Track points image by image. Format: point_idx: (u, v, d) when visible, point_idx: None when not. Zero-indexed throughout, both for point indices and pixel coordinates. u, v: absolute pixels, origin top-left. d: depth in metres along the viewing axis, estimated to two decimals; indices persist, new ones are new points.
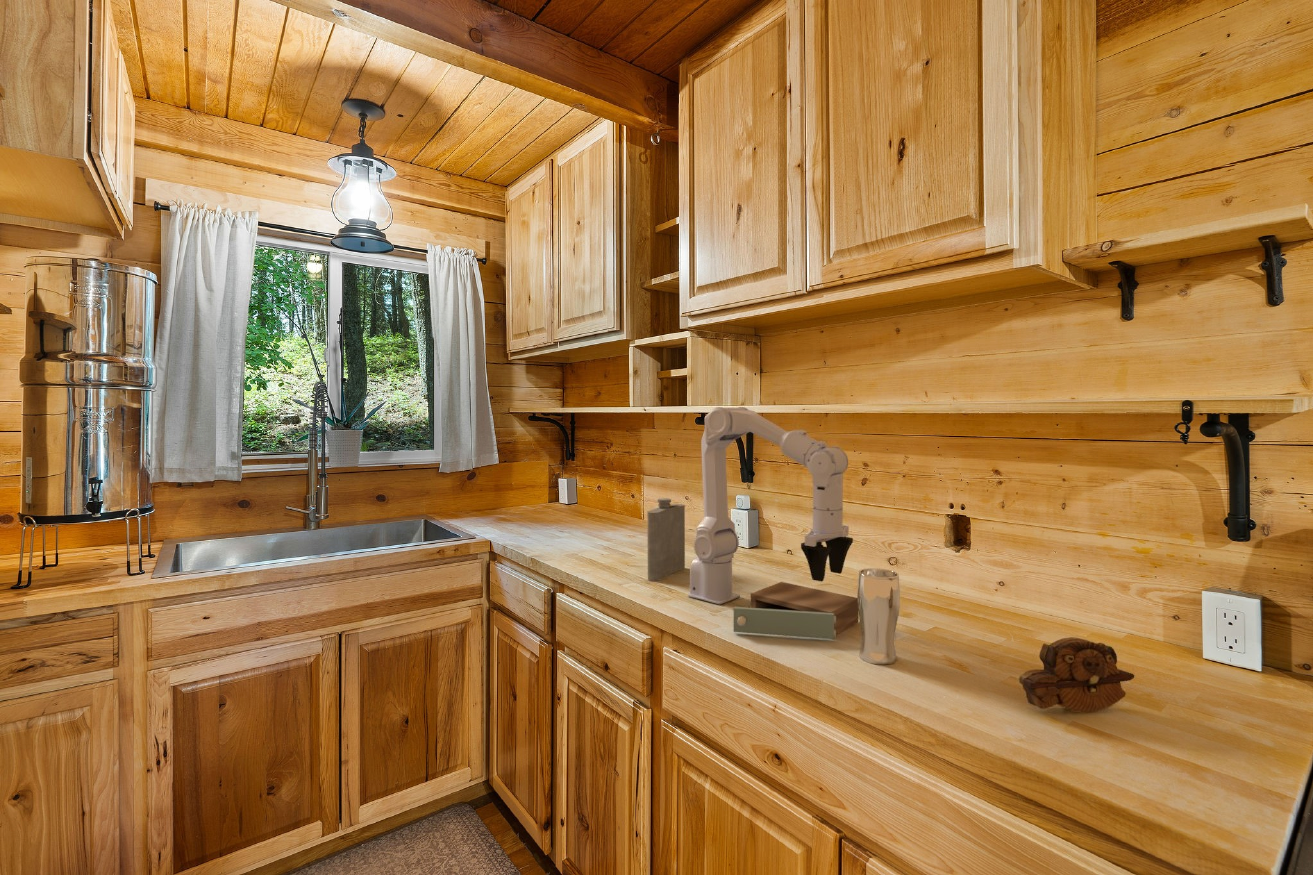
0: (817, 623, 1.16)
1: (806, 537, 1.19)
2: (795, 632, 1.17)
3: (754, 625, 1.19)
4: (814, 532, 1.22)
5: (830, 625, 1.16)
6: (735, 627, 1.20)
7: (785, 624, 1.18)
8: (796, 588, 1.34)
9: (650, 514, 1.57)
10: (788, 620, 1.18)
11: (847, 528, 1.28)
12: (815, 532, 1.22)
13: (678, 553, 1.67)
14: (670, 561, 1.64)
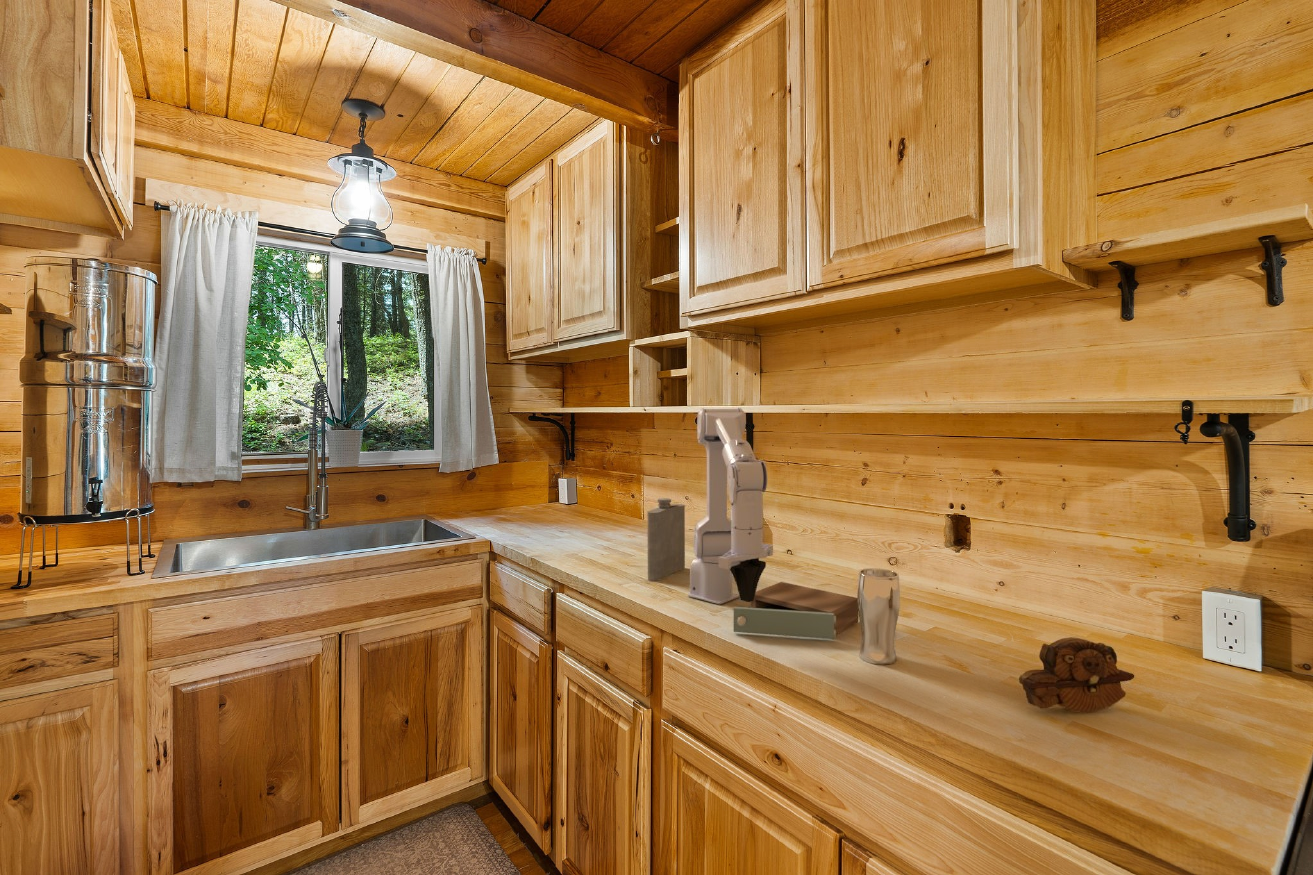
0: (817, 623, 1.16)
1: (720, 559, 1.09)
2: (795, 632, 1.17)
3: (754, 625, 1.19)
4: (732, 553, 1.13)
5: (830, 625, 1.16)
6: (735, 627, 1.20)
7: (785, 624, 1.18)
8: (796, 588, 1.34)
9: (650, 514, 1.57)
10: (788, 620, 1.18)
11: (771, 548, 1.18)
12: (733, 553, 1.13)
13: (678, 553, 1.67)
14: (670, 561, 1.64)
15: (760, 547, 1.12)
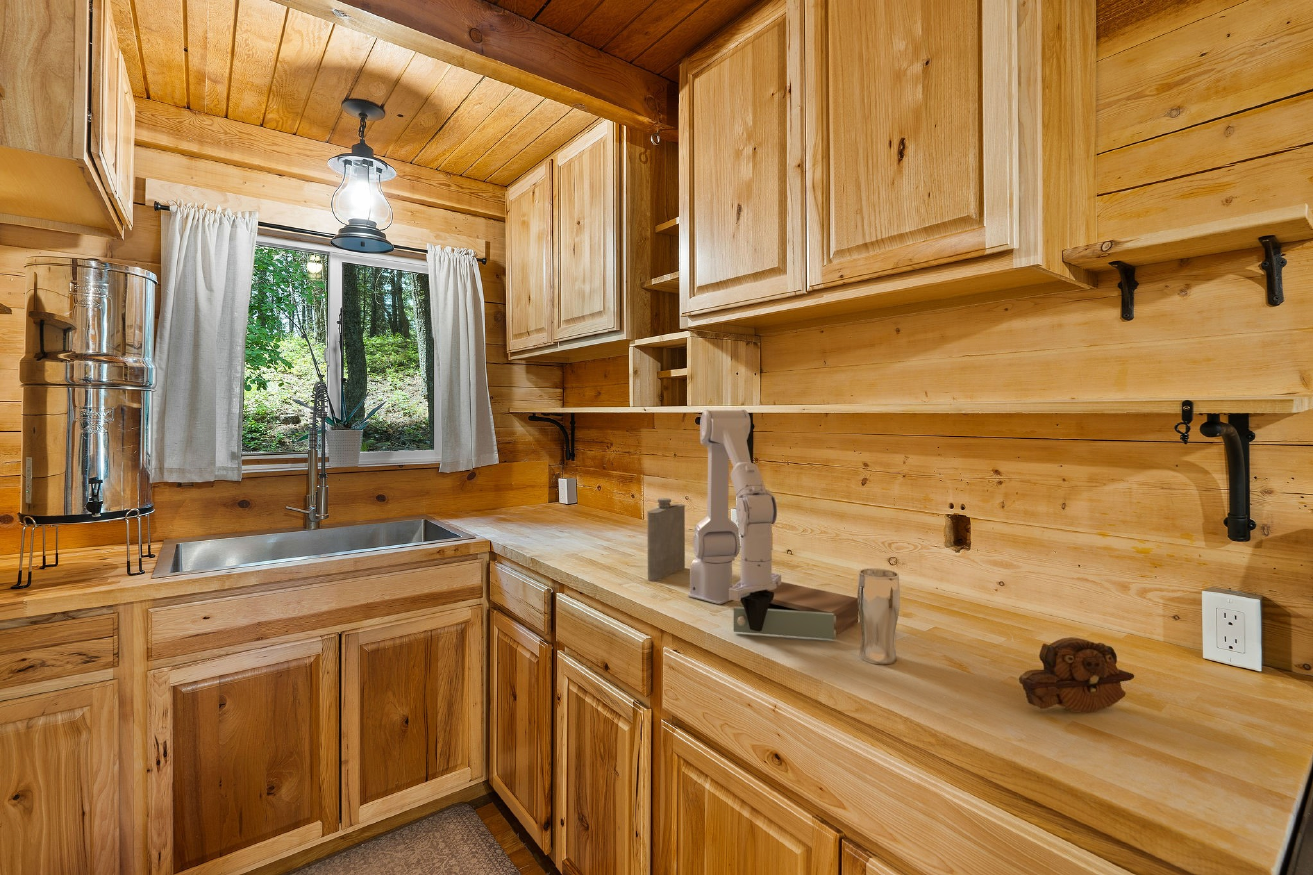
0: (817, 623, 1.16)
1: (730, 591, 1.12)
2: (795, 632, 1.17)
3: None
4: (741, 584, 1.16)
5: (830, 625, 1.16)
6: (735, 627, 1.20)
7: (785, 624, 1.18)
8: (796, 588, 1.34)
9: (650, 514, 1.57)
10: (788, 620, 1.18)
11: (779, 577, 1.21)
12: (742, 584, 1.15)
13: (678, 553, 1.67)
14: (670, 561, 1.64)
15: (769, 578, 1.15)
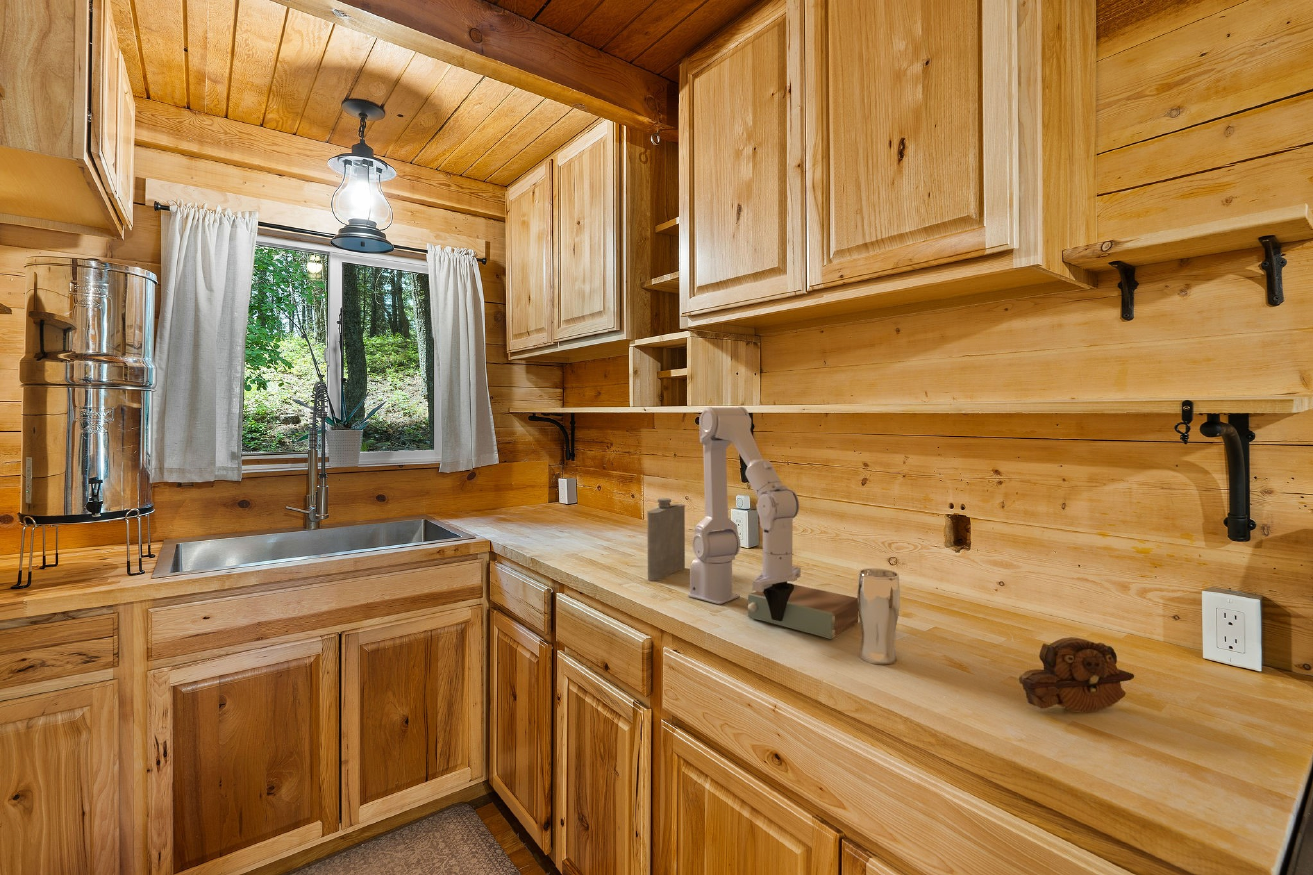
0: (816, 620, 1.18)
1: (753, 582, 1.17)
2: (797, 626, 1.21)
3: (764, 613, 1.26)
4: (763, 576, 1.21)
5: (828, 624, 1.16)
6: (749, 612, 1.29)
7: (789, 616, 1.22)
8: (796, 588, 1.34)
9: (650, 514, 1.57)
10: (792, 613, 1.22)
11: (799, 570, 1.26)
12: (764, 576, 1.21)
13: (678, 553, 1.67)
14: (670, 561, 1.64)
15: (790, 571, 1.20)
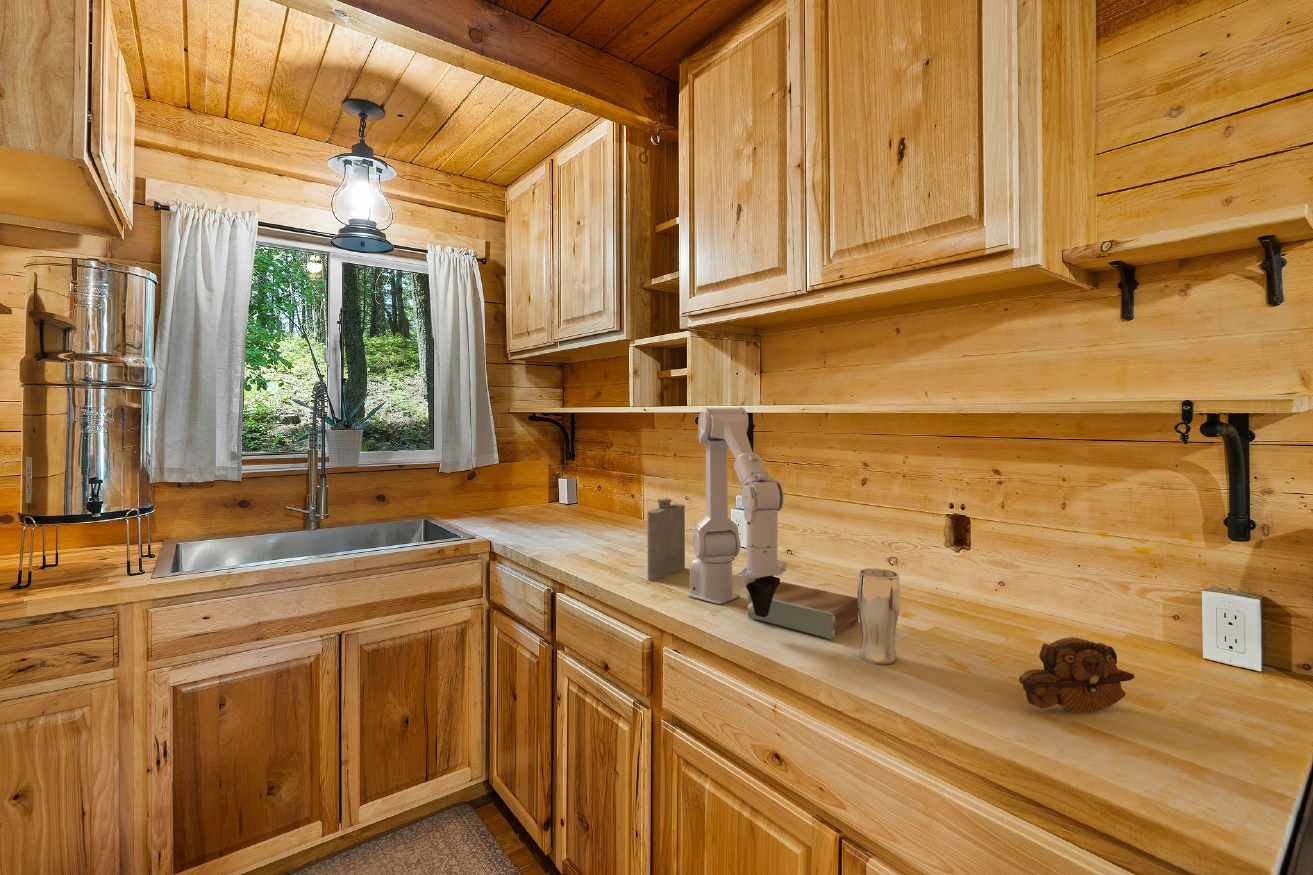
0: (816, 620, 1.18)
1: (736, 576, 1.13)
2: (797, 626, 1.21)
3: None
4: (747, 570, 1.17)
5: (828, 624, 1.16)
6: (749, 612, 1.29)
7: (789, 616, 1.22)
8: (796, 588, 1.34)
9: (650, 514, 1.57)
10: (792, 613, 1.22)
11: (785, 564, 1.22)
12: (748, 570, 1.17)
13: (678, 553, 1.67)
14: (670, 561, 1.64)
15: (775, 564, 1.16)
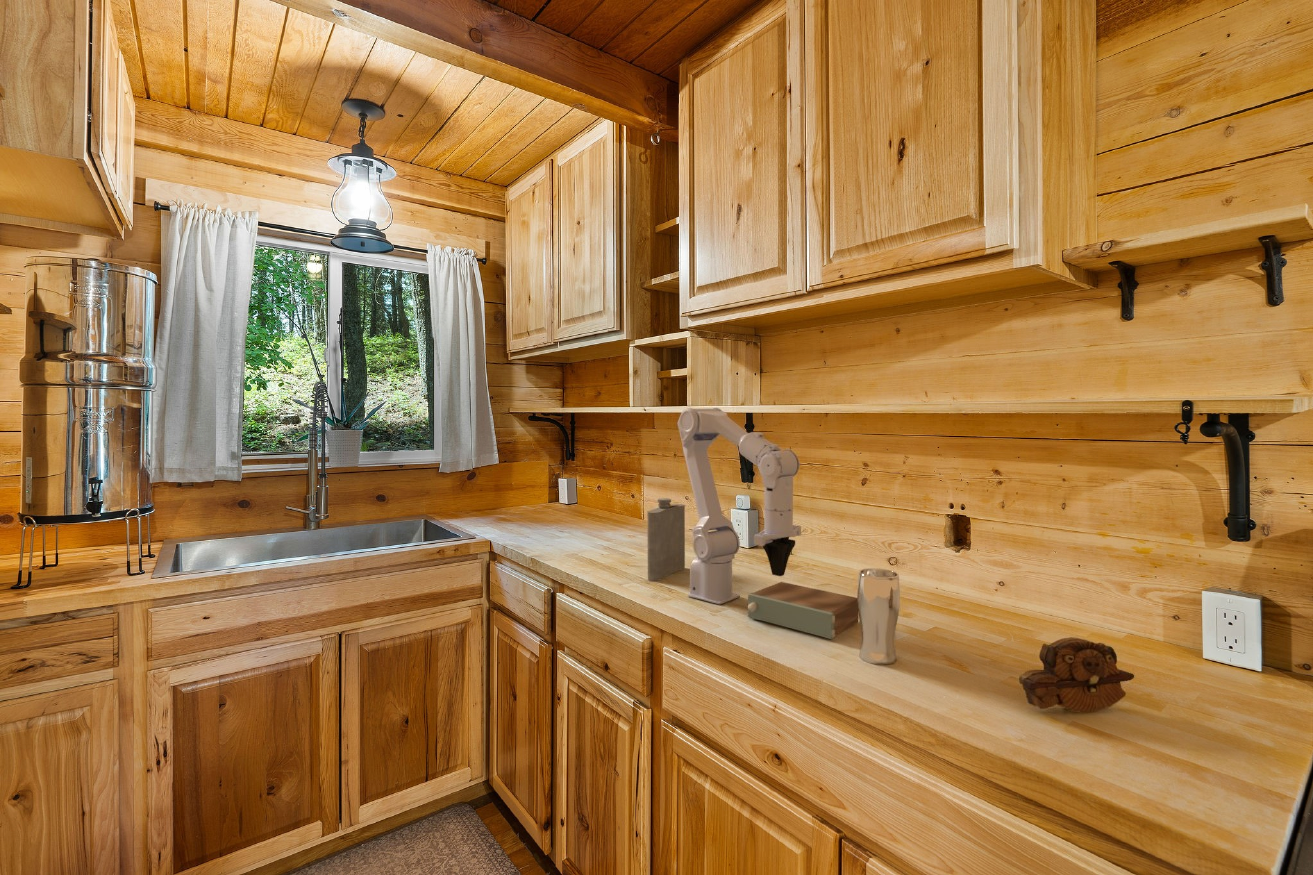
0: (816, 620, 1.18)
1: (755, 537, 1.23)
2: (797, 626, 1.21)
3: (764, 613, 1.26)
4: (765, 532, 1.27)
5: (828, 624, 1.16)
6: (749, 612, 1.29)
7: (789, 616, 1.22)
8: (796, 588, 1.34)
9: (650, 514, 1.57)
10: (792, 613, 1.22)
11: (799, 528, 1.32)
12: (766, 532, 1.26)
13: (678, 553, 1.67)
14: (670, 561, 1.64)
15: (790, 527, 1.26)
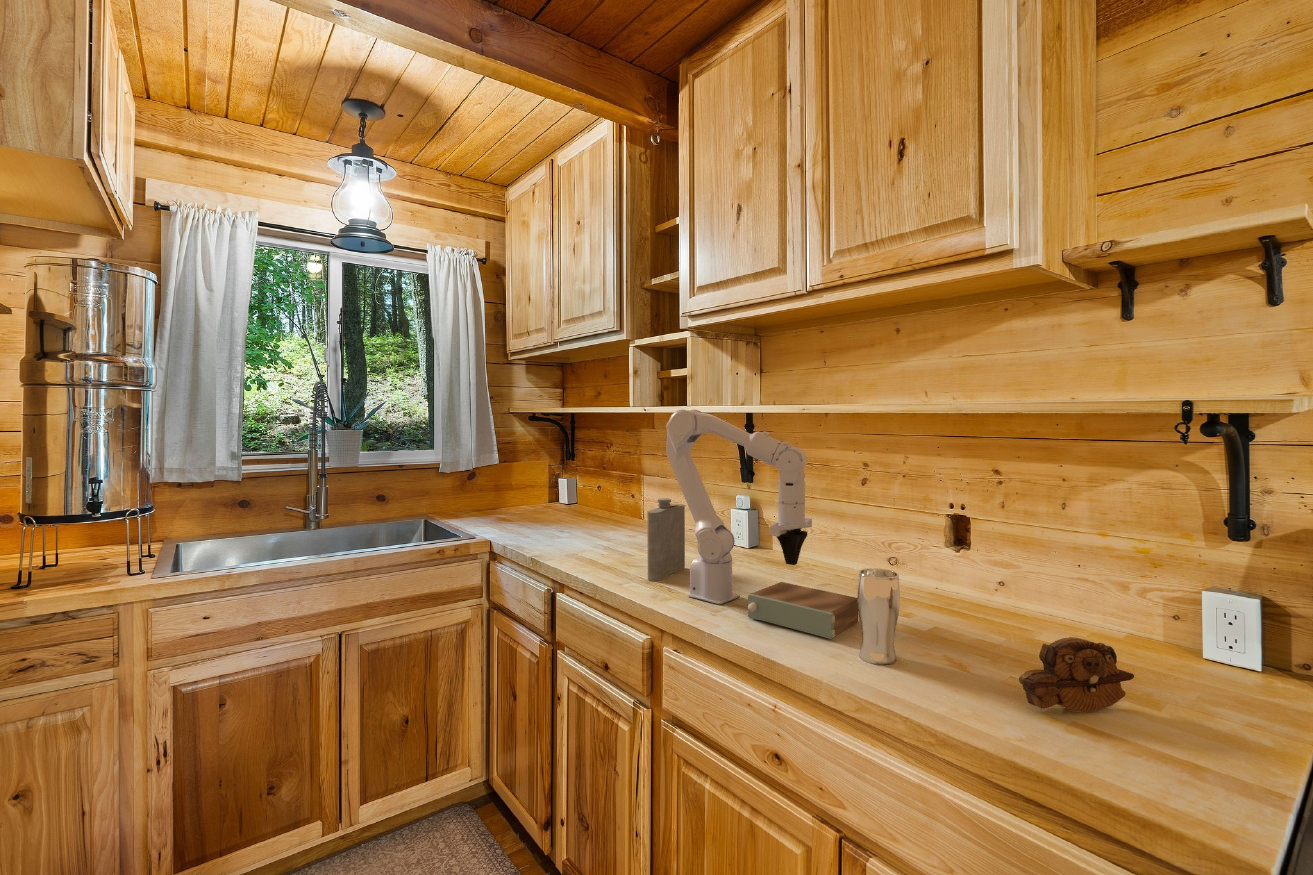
0: (816, 620, 1.18)
1: (771, 528, 1.31)
2: (797, 626, 1.21)
3: (764, 613, 1.26)
4: (779, 524, 1.35)
5: (828, 624, 1.16)
6: (749, 612, 1.29)
7: (789, 616, 1.22)
8: (796, 588, 1.34)
9: (650, 514, 1.57)
10: (792, 613, 1.22)
11: (810, 520, 1.40)
12: (780, 524, 1.35)
13: (678, 553, 1.67)
14: (670, 561, 1.64)
15: (803, 519, 1.34)
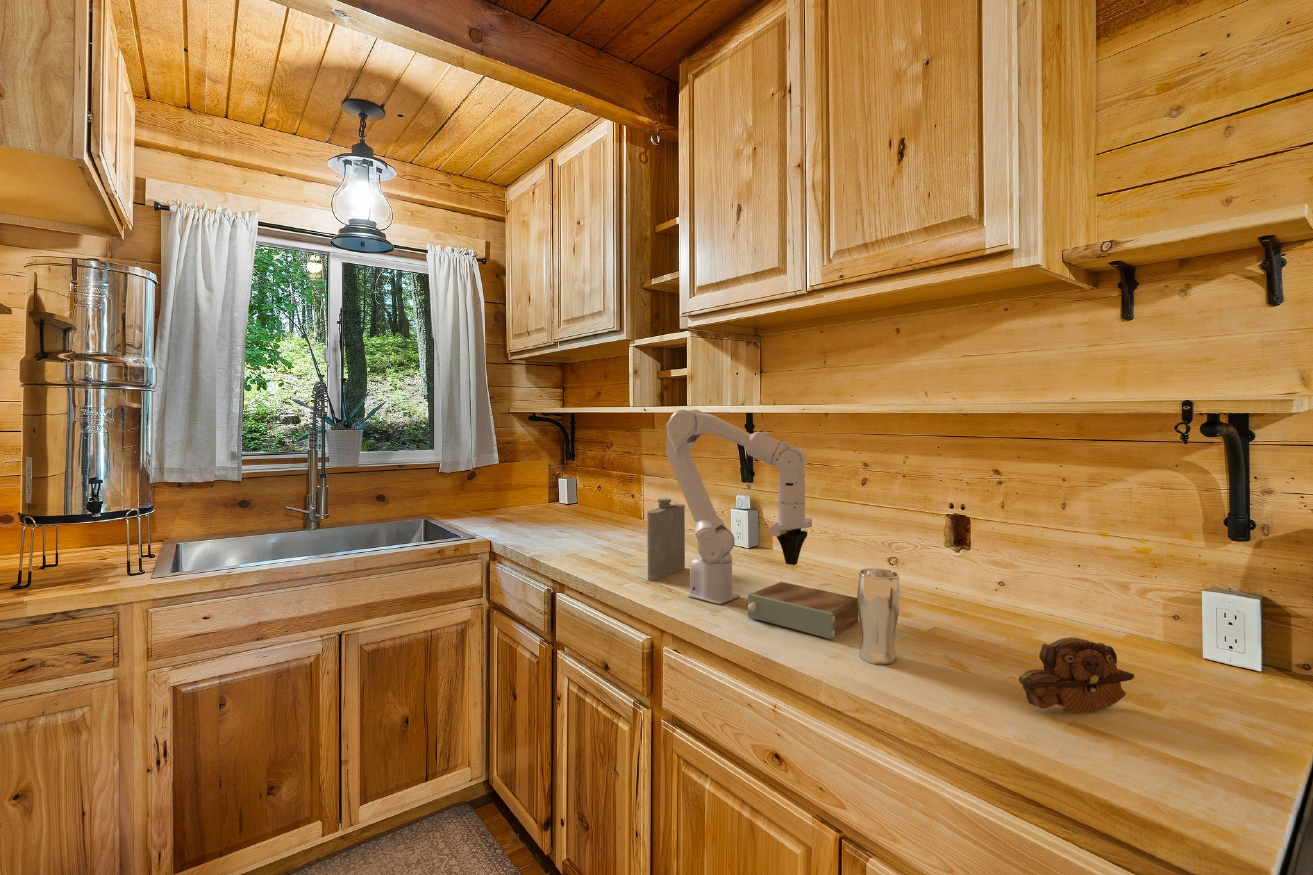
0: (816, 620, 1.18)
1: (771, 528, 1.31)
2: (797, 626, 1.21)
3: (764, 613, 1.26)
4: (779, 524, 1.35)
5: (828, 624, 1.16)
6: (749, 612, 1.29)
7: (789, 616, 1.22)
8: (796, 588, 1.34)
9: (650, 514, 1.57)
10: (792, 613, 1.22)
11: (810, 520, 1.40)
12: (780, 524, 1.35)
13: (678, 553, 1.67)
14: (670, 561, 1.64)
15: (803, 519, 1.34)
